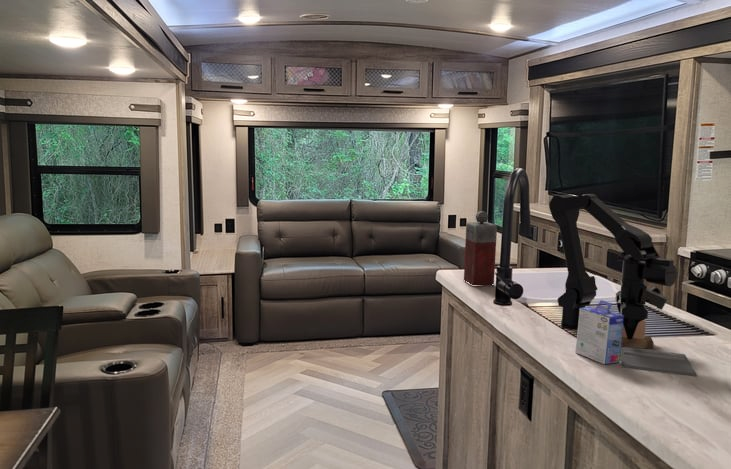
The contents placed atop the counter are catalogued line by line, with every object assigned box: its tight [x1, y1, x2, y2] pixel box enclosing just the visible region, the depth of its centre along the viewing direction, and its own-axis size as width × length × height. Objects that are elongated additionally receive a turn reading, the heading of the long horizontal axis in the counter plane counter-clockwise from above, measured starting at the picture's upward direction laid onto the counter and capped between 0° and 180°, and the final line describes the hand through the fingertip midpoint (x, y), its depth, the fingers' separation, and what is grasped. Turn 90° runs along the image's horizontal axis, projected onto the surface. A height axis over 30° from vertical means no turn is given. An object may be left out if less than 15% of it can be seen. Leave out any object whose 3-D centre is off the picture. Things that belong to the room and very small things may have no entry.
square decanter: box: [463, 210, 498, 285], centre depth 229 cm, size 9×11×28 cm
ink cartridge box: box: [575, 299, 624, 365], centre depth 150 cm, size 10×6×14 cm, turn 28°
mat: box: [620, 346, 698, 377], centre depth 149 cm, size 16×14×1 cm
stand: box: [621, 335, 654, 350], centre depth 163 cm, size 12×6×2 cm, turn 72°
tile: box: [622, 319, 647, 339], centre depth 163 cm, size 8×1×7 cm, turn 72°
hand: (628, 334), depth 163 cm, fingers open, 8 cm apart
